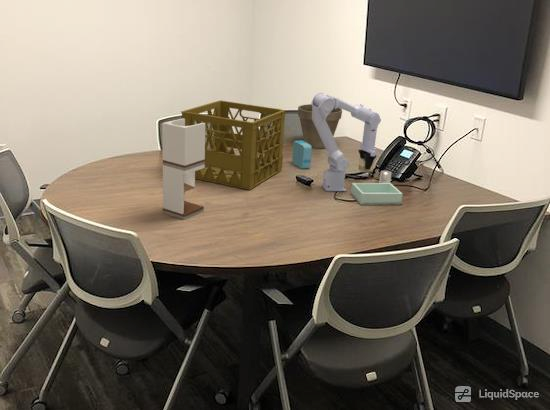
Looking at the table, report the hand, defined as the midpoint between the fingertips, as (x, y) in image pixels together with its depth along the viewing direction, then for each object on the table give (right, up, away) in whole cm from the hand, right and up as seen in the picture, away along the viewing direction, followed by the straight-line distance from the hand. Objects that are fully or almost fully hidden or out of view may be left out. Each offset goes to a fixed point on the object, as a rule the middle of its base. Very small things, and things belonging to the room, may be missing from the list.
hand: (365, 167), depth 261 cm
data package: (-28, +2, +29) cm, 41 cm away
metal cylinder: (+10, -9, +6) cm, 14 cm away
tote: (+2, -15, -12) cm, 19 cm away
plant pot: (-17, +17, +70) cm, 74 cm away
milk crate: (-61, -3, +10) cm, 62 cm away
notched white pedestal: (-77, -20, -40) cm, 89 cm away
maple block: (0, -1, +1) cm, 2 cm away
